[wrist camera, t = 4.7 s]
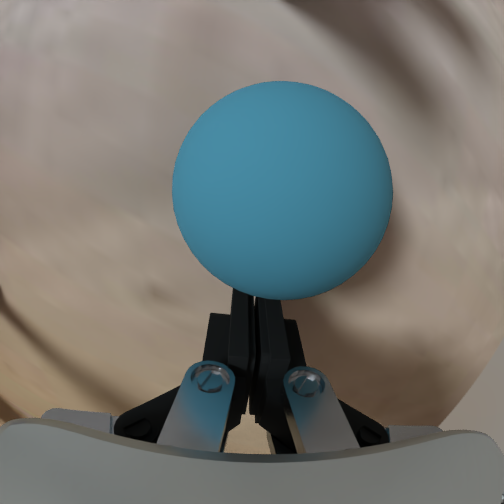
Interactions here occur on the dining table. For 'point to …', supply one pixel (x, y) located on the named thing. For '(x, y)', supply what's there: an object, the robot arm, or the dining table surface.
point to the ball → (282, 190)
